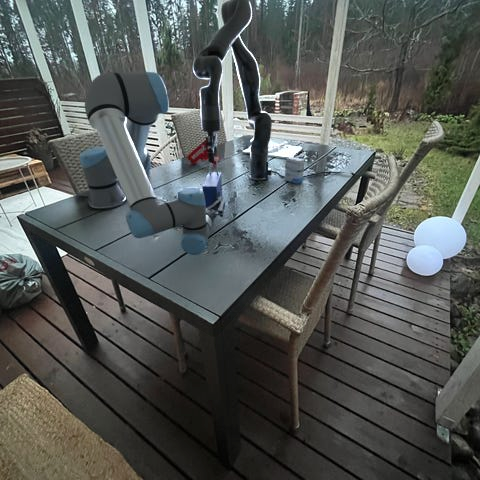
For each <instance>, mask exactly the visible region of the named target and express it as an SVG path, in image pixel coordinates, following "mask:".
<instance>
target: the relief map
mask: <svg viewBox="0 0 480 480" xmlns="http://www.w3.org/2000/svg"><path fill="white" fill-rule="evenodd" d="M302 147H303V146H294V145H292V144H290V143H289V142H288V141H284V142H282V143H280V144H279V143H278V142H276V141H273V140H272V139H271V138H270V141H269V145H268V157H271V158H277V159H285V160H286V159H287V158H289V157H296V156H297V155H298V154H299V153H300V152H302V151H303V150H304V148H303V149H302ZM250 148H251V145H250V146H249V147H248V148H247V149H245V150H242V153H243V154H247V155H248V154H249V155H250ZM296 153H297V154H296Z"/></svg>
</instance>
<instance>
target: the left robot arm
mask: <svg viewBox="0 0 480 480" xmlns="http://www.w3.org/2000/svg"><path fill="white" fill-rule="evenodd" d="M169 108H170V102H169V96H168V91H167V88H166V85H165V82H164V80H163V78H162V77H161V75H160V74H159V73H157V72H153V71H147V70H144V71H129V72H128V71H127V72H126V71H124V72H122V71H121V72H104V73H101V74H99V75H97V76H96V77H95V78H93V80H91V82H90V84H89V85H88V87H87V89H86V93H85V97H84V111H85V115H86V118H87V120H88V123H89V125H90V127H91V128H92V129H93V130H95V131H96V132H97V134H98V137H99V139H100V142H101V143H102V145H103V146H96V147H92V148H89V149H86V150H84V151H83V152H81V153H80V154H79V162H80V168H82V171H83V174H84V177H85V180H86V184H87V187H88V195H83V194H78V197H79V198H83V199H88V205H89V207H90V208H91V209H92V210H96V211H97V210H98V211H105V210H112V209H115V208H118V207H120V206H122V205H124V204H125V203H126V202H127V204H128V206H129V209H130V211H128V212H127V213H126V215H125V219H126V224H127V226H128V229H129V231H130V234H131V235H132V236H133V237H134V238H135V239H143V238H146V237H152V236H155V235H156V234H159V233H162V232H166V231H169V230H172V229H176V228H177V227H180V226H182V227H181V228H182V237H181V240H180V247H181V249H182V250H183V251H184V253H186V254H188V255H189V256H198V255H200V254H203V252H204V251H205V250H206V247H207V245H208V240H209V237H210V234H211V230H212V228H213V227H212V226H213V224H214V221H215V218H216V217H220V218H223V217H224V210H225V207H226V200H225V199H223V196H222V197H220V192H218V194H217V197H216V202H215V203H214V204H213V205H210V206H209V207H208V208H206V203H205V196H204V192H203V189H201V188H199V187H196V186H187V187H186V186H185V187H183V188H182V189H179V190H178V192H177V198H176V199H172V200H168V201H164V202H161V203H160V202H159V200H158V198H157V195H156V192H155V190H154V188H153V186H152V184H151V182H150V181H151V180H150V179H149V177H148V175H147V172H148V171H149V170H150V168H151V156H150V152H149V149H148V148H147V141H148V138H149V134H150V130H151V126H152V125H154V124H155V123H156V122H157V121H158V118H159V115H161V114H162V115H164V114H167V113H168V111H169ZM118 183H119V184H118ZM218 208H219V209H218ZM217 209H218V211H217V212H215V211H216V210H217Z"/></svg>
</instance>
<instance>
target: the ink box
mask: <svg viewBox="0 0 480 480" xmlns="http://www.w3.org/2000/svg"><path fill="white" fill-rule="evenodd" d="M305 162H306V159H304V158H299V157H296V156H294V157H289V158H287V159H286V158H285V169H284V176H285V178H284V181H285V182H289V183H293V184H295V185H298V184H300V183H302V182H303V180H304V178H303V176H304V173H305V171H304V170H305Z"/></svg>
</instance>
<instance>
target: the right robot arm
mask: <svg viewBox="0 0 480 480" xmlns="http://www.w3.org/2000/svg"><path fill="white" fill-rule="evenodd" d="M220 14H221V20H222V24H223V25H222V26H220V28H219V29H218V30H217V31H215V33H214V35H213V36H212V38H211V39H210V41H209V43H208V45H207V46H206V47H204V48H203V49H202V50H201V51H200V52H199V53H198V54H197V55H196V56H195V58H194V60H193V64H192V70H193V73H194V75H195V76H196V78H197V79H200V80H209V83H208V85H205V86H202V87H201V88H200V89H199V98H200V101H199V102H200V124H201V125H200V126H201V131H203V132H206V136H205V140H206V152H207V153H208V159H207V161H208V160H209V161H208V163H209V162H214V156H218V151H217V150H218V132H219V131H220V130H222V129H221V109H220V95H219V94H220V86H221V81H222V77H223V69H224V66H223V61H224V60H225V58H226V56H228V55H227V54H228V53H229V51H230V49H231V51H232V56H233V61H234V63H235V67H236V73H237V77H238V80H239V85H240V88H241V92H242V96H243V99H244V104H245V108H246V116H247V121H248V125H249V127H250V128H251V129H252V130H253V132H254V133H253V138H251V139H250V146H251V148H250V154H249V157H250V158H249V160H250V161H249V165H250V166H249V178H250V180H253V181H256V182H257V181H265V180H268V179H269V176H272V174H276V175H278V176H279V177H280V178H284V179H285V175H282V174H281V173H279V172H277V171H274V170H272V168H271V167H269V156H268V145H269V141H270V139H271V136H272V128H273V127H272V126H273V125H272V124H273V122H272V121H273V120H272V117H271V114H269V113H268V112H266V111H263V109H262V105H261V101H260V87H261V75H260V72H259V65H258V62H257V61H256V58H255V57H254V55H253V53H252V52H251V51H249V49H248V48H247V47H246V45H245V44H244V42H243V40H242V38H241V35H240V34H241V33H242V32H244V30H245V28H246V27H248V25H249V24H250V22H251V20H252V17H253V16H252V15H253V11H252V5H251V1H250V0H227V1H225V2H223V3H222V5H221V7H220ZM209 148H211V149H209ZM341 172H342V171H319V173H318V172H314V173H315V174H314V173H310V174H311V175H309V174H306V175H307V176H305V175H303V179H304V178H308V177H311V176H315V175H321V174H335V175H336V174H338V175H339V174H340V175H341V174H342V173H341ZM350 174H351V175H352V176H355V173H354V172H353V173H350Z"/></svg>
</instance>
